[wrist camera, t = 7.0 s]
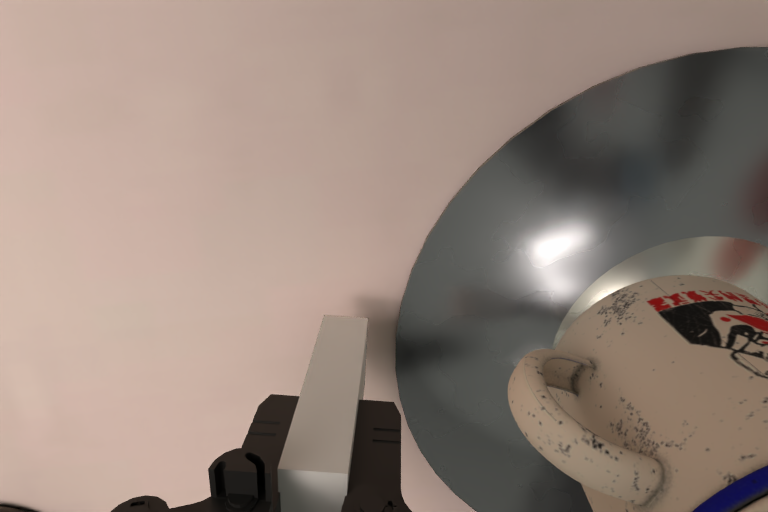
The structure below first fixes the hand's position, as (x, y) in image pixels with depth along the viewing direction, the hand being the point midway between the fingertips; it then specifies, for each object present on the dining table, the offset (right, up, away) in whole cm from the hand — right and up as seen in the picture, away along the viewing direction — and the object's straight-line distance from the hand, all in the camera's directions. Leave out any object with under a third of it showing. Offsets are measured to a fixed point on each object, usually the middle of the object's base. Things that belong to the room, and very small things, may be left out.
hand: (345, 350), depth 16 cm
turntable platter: (+13, -1, +2) cm, 13 cm away
